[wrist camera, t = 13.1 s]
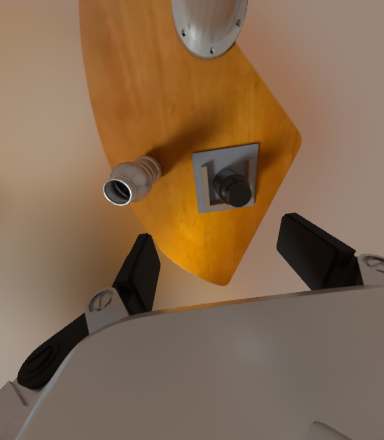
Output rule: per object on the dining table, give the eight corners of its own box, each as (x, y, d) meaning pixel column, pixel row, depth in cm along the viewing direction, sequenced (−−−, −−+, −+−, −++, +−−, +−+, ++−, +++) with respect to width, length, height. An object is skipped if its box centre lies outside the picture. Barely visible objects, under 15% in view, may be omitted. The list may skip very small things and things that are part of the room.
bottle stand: (191, 153, 35) (192, 154, 32) (256, 143, 35) (263, 143, 32) (198, 211, 43) (200, 217, 40) (252, 204, 42) (257, 209, 39)
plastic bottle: (148, 148, 34) (110, 153, 17) (168, 171, 37) (153, 196, 19) (131, 166, 36) (79, 188, 18) (151, 186, 39) (122, 223, 21)
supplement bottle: (235, 163, 36) (256, 172, 25) (240, 189, 39) (260, 206, 28) (209, 173, 37) (218, 185, 26) (215, 197, 40) (226, 217, 29)
